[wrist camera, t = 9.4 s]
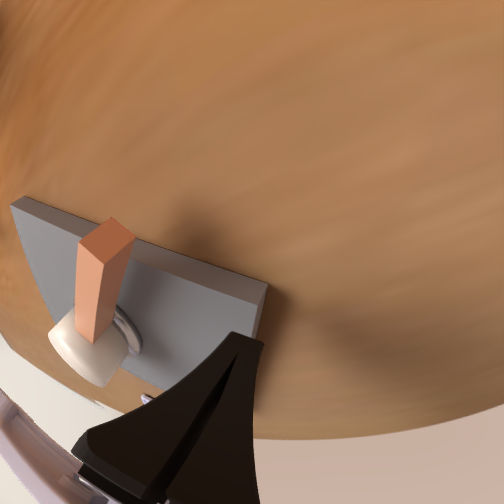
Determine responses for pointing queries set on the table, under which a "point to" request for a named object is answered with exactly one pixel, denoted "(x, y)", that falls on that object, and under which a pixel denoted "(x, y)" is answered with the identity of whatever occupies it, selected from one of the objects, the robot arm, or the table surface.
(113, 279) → the handle
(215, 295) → the base plate
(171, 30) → the table surface
